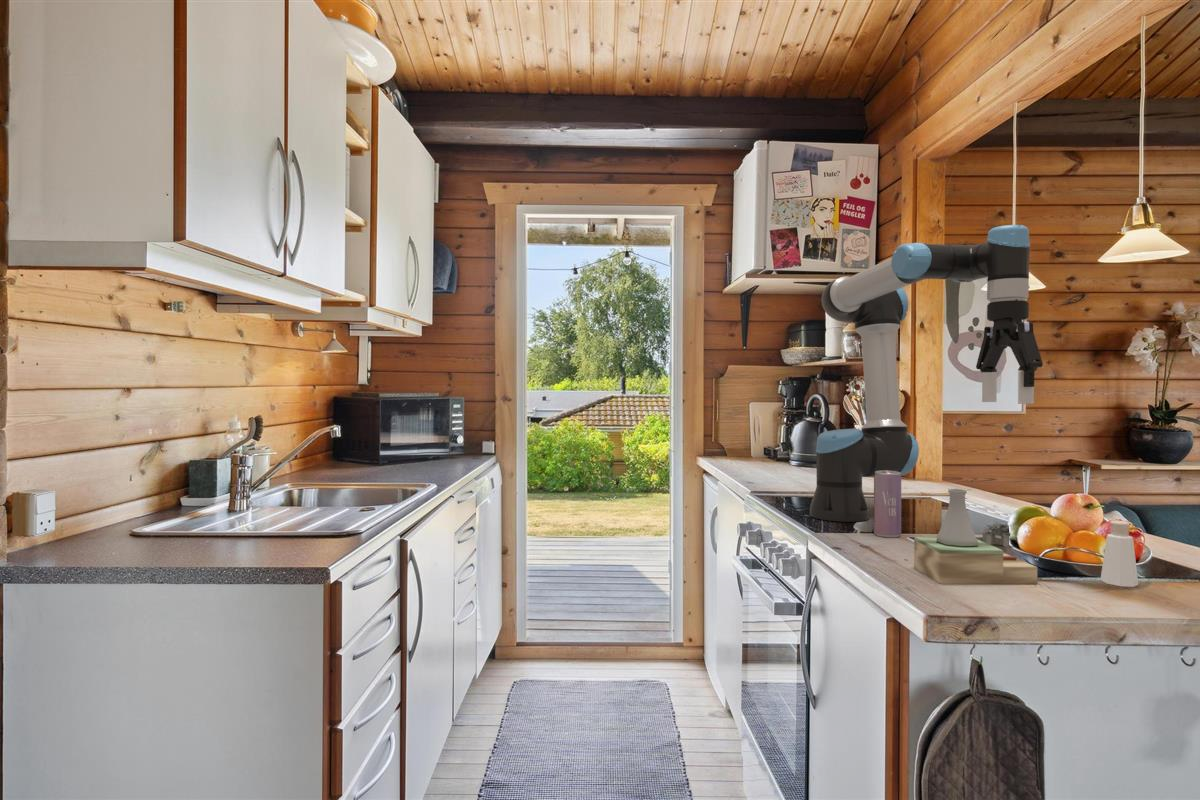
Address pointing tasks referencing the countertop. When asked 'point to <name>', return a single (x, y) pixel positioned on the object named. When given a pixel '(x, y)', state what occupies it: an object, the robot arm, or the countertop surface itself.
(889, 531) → the beverage can
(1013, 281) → the robot arm
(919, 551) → the stand
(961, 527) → the flask
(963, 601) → the countertop surface
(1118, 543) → the salt shaker
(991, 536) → the egg carton
